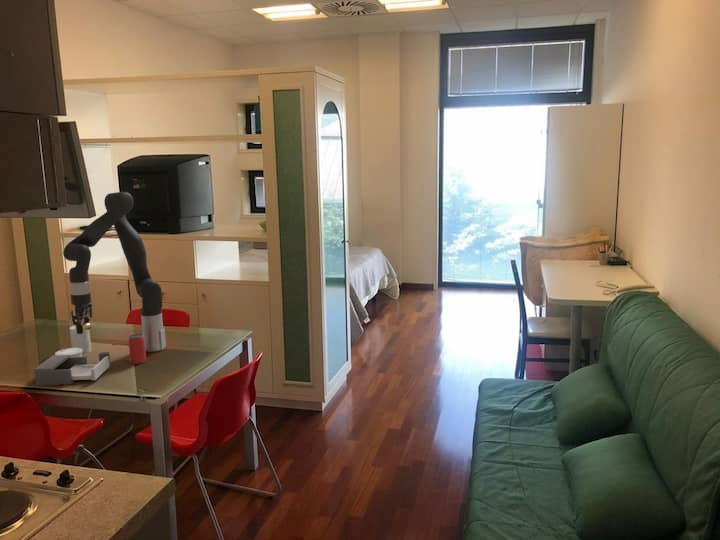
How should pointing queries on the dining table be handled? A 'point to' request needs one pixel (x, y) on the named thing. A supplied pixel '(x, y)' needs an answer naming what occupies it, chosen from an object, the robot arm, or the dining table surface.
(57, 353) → the ramekin
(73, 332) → the cup
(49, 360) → the housing
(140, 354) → the beer can
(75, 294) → the robot arm
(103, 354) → the cylinder
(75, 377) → the tray
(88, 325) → the disc
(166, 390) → the dining table surface
